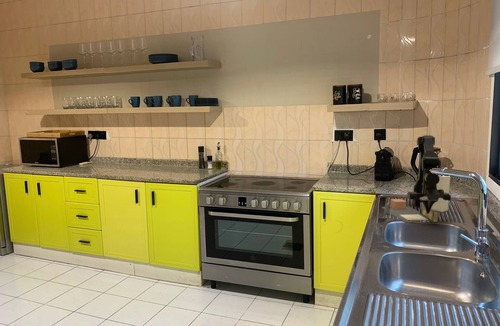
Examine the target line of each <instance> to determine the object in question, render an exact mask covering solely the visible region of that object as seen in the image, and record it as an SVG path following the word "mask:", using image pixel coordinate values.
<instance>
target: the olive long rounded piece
mask: <svg viewBox="0 0 500 326" xmlns="http://www.w3.org/2000/svg"><path fill="white" fill-rule="evenodd" d="M422 205H424V204H423V202H420V207H419V212H420V214H422ZM385 207H386V210H384V211H385V213H384V214H385V215H387V216H389V215H390V214H391V213H390V207H391V202H386V203H385Z"/></svg>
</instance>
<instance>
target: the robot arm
mask: <svg viewBox="0 0 500 326" xmlns="http://www.w3.org/2000/svg"><path fill="white" fill-rule="evenodd" d="M435 145H436V137H435V136H434V135H425V134H424V135H422V136H419V137H417V138H416V146H417V148H418V150H419V153H420V154H419V168H418V170H419V171H418V177H417V178H416V180H415V181H414V184H413V188H412V191H407V194H406V197H407V198H408V199H409V200H412V201H413V202H412V206H414V207H416V208H420V202H423V204H424V207H425V210H426V213H427V214H429V212H430V210H431V208H432V206H433V204H434V203H435V202H438V200H439V198H442V199H443V200H449V201H451V200H452V197H451V194H450V193H449V194H448V193H445V192H444V190H443V189H439V190H437V185H436V184H438V183H439V180H440V178H439V176H438V175H436V174H432V173H431V172H430V171H429V170H430V169H432V168H441V169H442V160H441V159H440V158H439V155H438V153H436V152H435Z"/></svg>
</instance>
